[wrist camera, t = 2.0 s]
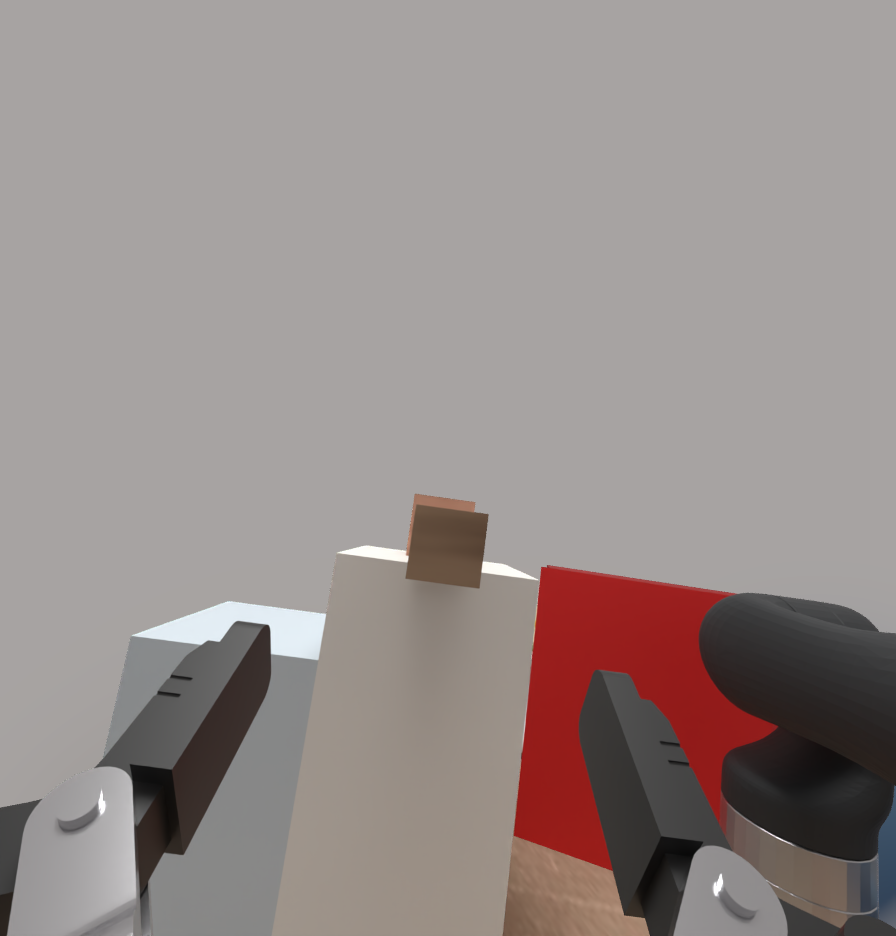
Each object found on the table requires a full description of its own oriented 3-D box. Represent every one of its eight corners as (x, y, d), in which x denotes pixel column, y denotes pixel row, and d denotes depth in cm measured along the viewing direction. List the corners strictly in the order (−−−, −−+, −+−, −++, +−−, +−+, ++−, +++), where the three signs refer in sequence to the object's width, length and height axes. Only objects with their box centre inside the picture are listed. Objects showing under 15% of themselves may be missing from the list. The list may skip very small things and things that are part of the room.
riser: (180, 840, 45) (243, 528, 50) (469, 875, 46) (504, 564, 50) (45, 1008, 29) (155, 528, 34) (489, 1058, 30) (539, 580, 34)
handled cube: (408, 552, 48) (416, 498, 49) (462, 559, 48) (469, 505, 49) (386, 576, 23) (403, 466, 24) (497, 591, 24) (510, 480, 24)
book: (513, 835, 53) (541, 566, 58) (523, 800, 60) (547, 565, 65) (783, 931, 44) (790, 604, 49) (755, 876, 52) (763, 597, 56)
